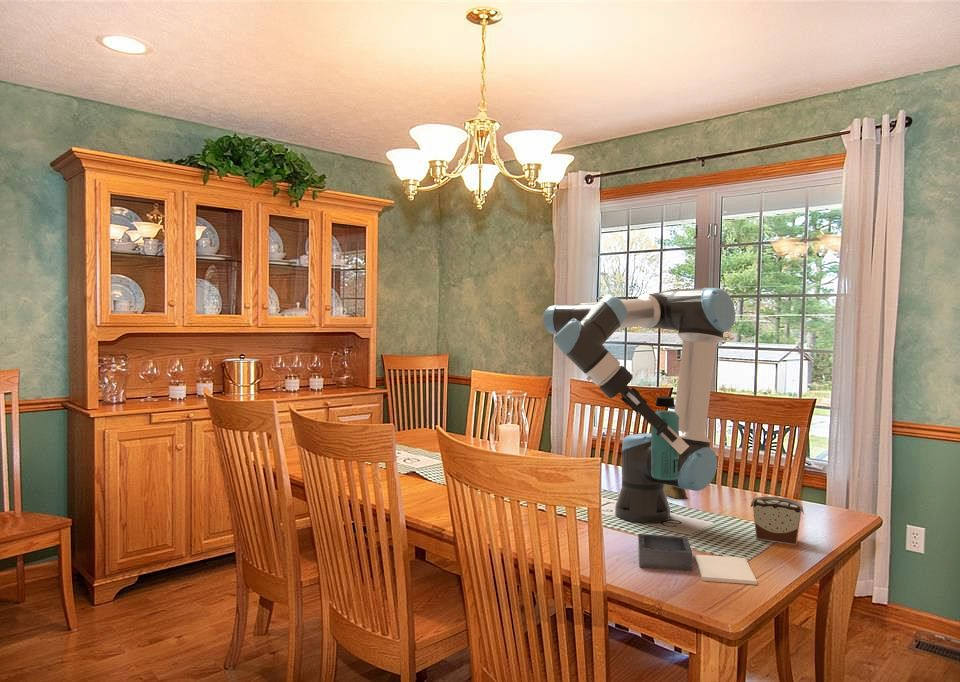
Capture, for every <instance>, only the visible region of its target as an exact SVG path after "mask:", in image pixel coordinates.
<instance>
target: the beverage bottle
mask: <svg viewBox="0 0 960 682" xmlns="http://www.w3.org/2000/svg"><path fill="white" fill-rule="evenodd" d="M674 398H675V397H673V396H657V397H656V400H655V401H656V402H655V406H656V407H661V408H675V399H674ZM654 412H655V413H656V414H657V415H658V416H659V417H660V418H661V419H662V420H663V421H664V422H666V423H667V424H668V426H669V427H670V428H671V429H672V430H673V431H674V432H675V433H676V434H677V435H678V436H679V434H680V433H679V416H678V415H677V414H676V413H675V412H674V410H656V411H654ZM661 424H662V423H661ZM661 424H660V425H661ZM660 425H659V426H660ZM659 426H658V427H659ZM650 433H651V475H652V477H653V478H656V479H660V480H676V479H678V478H679V472H680V469H679V467H680V460H679V453H678V452H677V451H676V450H675V449H674V448H673V447H672V446H671V445H670V444H669V443H668V442H667V441H666V440H665V439H664V438H663V437H662V436H661V435H659V436H658V435H657V434H656V433H657V430H656V429H655V428H654V427H653V426H651V431H650Z"/></svg>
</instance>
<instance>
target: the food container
mask: <svg viewBox="0 0 960 682" xmlns="http://www.w3.org/2000/svg"><path fill="white" fill-rule="evenodd" d="M750 508H752V509H753V519H754V529H755V530H754V531H755V532H754V533H755V539H756V540H759V539H760V541H766V542H772V541H773V543H778V542H779V543H781V544H786V545H790V546H791V545H793V546H797V544H798V537H799V529H800V522H801V514H803V515H804V514H805V512H804V507H803V505H802V503H800V502H799V501H797V500H794V499H789V498H787V497H779V496H759V497H754V498H752V501H751V503H750Z"/></svg>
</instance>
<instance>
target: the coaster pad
mask: <svg viewBox="0 0 960 682" xmlns="http://www.w3.org/2000/svg"><path fill="white" fill-rule="evenodd" d="M694 559H695V563H696V565H697V569H698V571H699V575H700V578H701V581H703V582H715V583H716V582H717V583H729V584H742V585H743V584H744V585H758V580H757V578H756V577H755V574H754V572H753V571H752V569H751V567H750V565H749V563H748V561H747V559H746V558H745V557H735V556H721V555H719V556H718V555H706V554H695V555H694Z"/></svg>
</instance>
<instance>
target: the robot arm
mask: <svg viewBox="0 0 960 682" xmlns="http://www.w3.org/2000/svg"><path fill="white" fill-rule="evenodd" d="M735 309H736V308H735V305H734V301H733V300H732V298H731V296H730V294H729V292H727V290H724V289H722V288H719V287H708V286H707V287H698V288H677V289H676V288H675V289H669V290H664V291H663V290H662V291H659V292H655V293H649V294H642V295H640V296H638V297H637V298H633V299H632V298H631V299H620V298H618V297H617V296H614V295H605V296H604V297H602V298H601V299H599V300H598V301H594V302H585V303H582V302H581V303H575V304H574V303H572V304H571V303H570V304H556V305H551V306H550V305H549V306H548V307H547V308H546V309H545V311H544V312H543V315H542V322H543V323H542V324H543V327H544V329H545V331H546V332H548V333H549V334H551V335H554V337H553V342H554V343H555V345H556V346H557V348H559V350H560V351H561V352H562V353H563V354H564V355H565V356H566V357H567V358H568V359H569V360H570V361H571V362H572V363H573V364H575V366H577V368H579V370H580V371H581V372H582V373H584V374H585V375H586V376H587V377H586V380H587V381H588V382H590V381H592V382H593V383H594V384H595V385H596V386H599V389H600V391H601V392H602V393H603V394H604V395H605V396H606V397H607V398H608V399H613V398H615V397H616V396H617V395H619V394H620V395H621V398H620V400H621V401H622V402H623V403H624V404H625V405H627V406H629V407H630V409H631V410H632V411H634V412H635V413H638V414H639V415H640V416H642V417H643V419H645V421H646V422H647V423H648V424H649V425H650V426H651V427H652V426H653V427H654V428H655V429H656V430H657V433H656V434H657V435H658V436H659V435H661V436H662V437H663V438H664V439H665V440H666V441H667V442H668V443H669V444H670V445H671V446H672V447H673V448H674V449H675V450H676V451H677V452H678V453H679V460H680V467H679V469H680V472H679V478H678V479H676V480H660V479H656V478H653V477H652V475H651V432H650V433H647V432H645V433H637V434H635V433H634V434H629V435H626V436H625V437H623V439H622V445H621V446H622V447H621V487H620V492H619V493H618V497H617V500H616V503H615V506H614V507H615V508H614V509H615V510H614V511H615V512H614V513H615V516H617V517H618V518H620V519H623V520H625V521H626V520H627V521H629V522H630V521H631V522H636V523H645V524H646V523H647V524H648V523H660V522H661V523H662V522H665V521H668V520H670V519H671V508H670V505H669V500H668V498H667V497H668V496H666V494H665V491H664V484H666V485H670V486H675V487H679V488H681V489H685V491H686V490H687V491H694V492H695V491H696V492H698V491H702V490H704V489H705V488H707V487H708V486H709V485H710V484H711V483H712V481H713V480H714V478H715V476H716V473H717V469H718V458H717V454H716V452H715V451H714V449H712V448H711V440H710V439H709V438H708V436H707V435H706V434H707V433H706V430H707V424H708V423H707V422H708V415H709V413H708V412H709V406H710V397H711V389H712V383H713V382H712V381H713V374H714V372H713V371H714V365H715V364H714V363H715V358H716V357H715V356H716V348H717V345H718V344H720V343H721V342H722V341H724V340H723V339H724V334H725V333H726V332H729V331H730V330H731V329H732V328H733V326H734V324H735V321H736V310H735ZM634 327H639V328H643V329H644V330H645V329H647V330H648V329H662V330H668V331H678V332H677V333H678V334H677V335H678V337H679V338H680V340H682V346H681V347H682V348H681V357H680V364H679V370H678V378H677V379H678V380H677V386H676V387H677V388H676V393H675V394H676V395H675V401H674V404H675V405H674V410H673V412H675V413H676V414H677V415H678V416H679V433H680V434H679V436H678V435H677V434H676V433H675V432H674V431H673V430H672V429H671V428H670V427H669V426H668V424H667V423H666V422H664V421H663V420H662V419H661V418H660V417H659V416H658V415H657V414H656V413H655V412H656V411H654V410H653V409H652V408H651V407H650V406H649V405H648V402H647V401H646V400H645V398H643V396H641V394H640V392H639V391H638V390H637V389H636V388H634V387H632V388H630V387H629V386H628V384H630V383H631V382H632V380H633V378H634V377H633V374H632V373H631V372H630V371H629V370H628V369H627V368H626V367H625V366H624V365H621V362H620V361H619V360H618V359H617V358H616V357H615V356H614V355H613V354H612V353H611V352H610V351H609V350H608V349H607V348H606V347H605V346H604V344H605V343H606V342H607V341H608V339H609V338H611V336H612V335H613V334H614V333H615V332H617V330H618V329H625V328H626V329H627V328H634ZM661 423H662V424H661ZM660 424H661V425H660ZM659 425H660V426H659ZM658 426H659V427H658Z"/></svg>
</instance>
